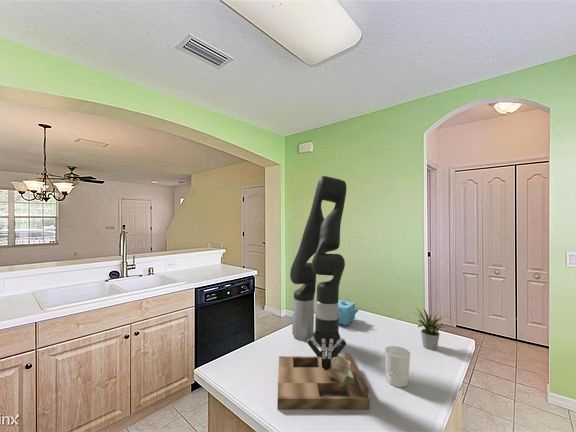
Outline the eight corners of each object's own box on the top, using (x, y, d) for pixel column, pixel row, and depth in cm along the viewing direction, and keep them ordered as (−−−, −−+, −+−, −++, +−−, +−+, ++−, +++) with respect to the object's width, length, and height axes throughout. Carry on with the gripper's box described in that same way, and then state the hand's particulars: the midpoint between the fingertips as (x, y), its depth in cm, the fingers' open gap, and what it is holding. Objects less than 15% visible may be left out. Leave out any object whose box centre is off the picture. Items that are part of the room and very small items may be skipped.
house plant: (401, 344, 121) (401, 306, 121) (418, 336, 129) (419, 300, 129) (435, 357, 109) (435, 315, 109) (451, 348, 117) (452, 309, 117)
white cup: (408, 377, 96) (409, 348, 96) (411, 390, 88) (411, 359, 88) (384, 373, 98) (384, 344, 98) (384, 385, 91) (384, 354, 91)
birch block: (327, 374, 88) (335, 360, 87) (329, 366, 93) (336, 353, 92) (342, 383, 87) (349, 369, 86) (343, 374, 91) (350, 361, 91)
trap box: (277, 409, 79) (277, 391, 79) (279, 364, 103) (279, 350, 103) (369, 409, 79) (369, 391, 79) (349, 364, 103) (349, 351, 103)
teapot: (353, 331, 134) (353, 307, 134) (319, 323, 144) (319, 301, 144) (363, 321, 147) (363, 299, 147) (332, 314, 157) (332, 294, 157)
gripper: (345, 311, 95) (344, 363, 95) (305, 311, 95) (304, 362, 95) (350, 319, 87) (348, 376, 87) (307, 318, 87) (306, 375, 87)
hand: (325, 369), depth 91 cm, fingers closed
